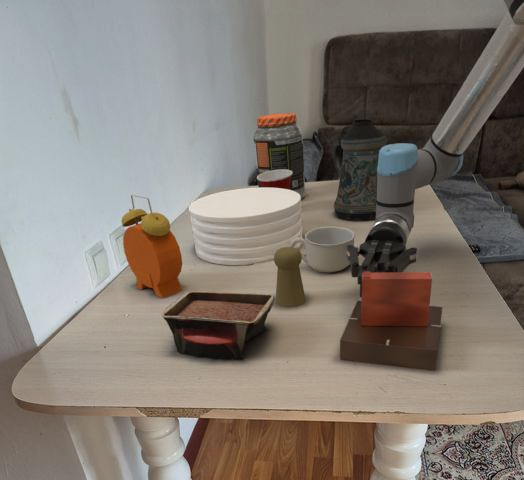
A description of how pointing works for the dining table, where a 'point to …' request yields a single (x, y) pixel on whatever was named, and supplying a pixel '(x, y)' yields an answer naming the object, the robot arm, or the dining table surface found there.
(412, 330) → the brown square platform
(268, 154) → the supplement tub
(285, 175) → the plastic cup
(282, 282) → the olive pepper shaker
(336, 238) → the teacup
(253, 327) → the baking dish
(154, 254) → the alarm clock
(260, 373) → the dining table surface
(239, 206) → the plate stack
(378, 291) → the orange-red rectangular block
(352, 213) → the beer stein
